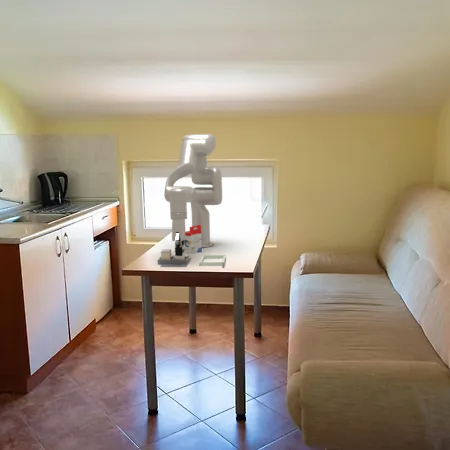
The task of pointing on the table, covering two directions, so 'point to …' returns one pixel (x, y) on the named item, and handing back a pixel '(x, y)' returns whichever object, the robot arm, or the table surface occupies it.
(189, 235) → the ink box
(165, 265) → the block
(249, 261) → the table surface
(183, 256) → the grey rectangular block
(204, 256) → the parts tray
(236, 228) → the table surface
